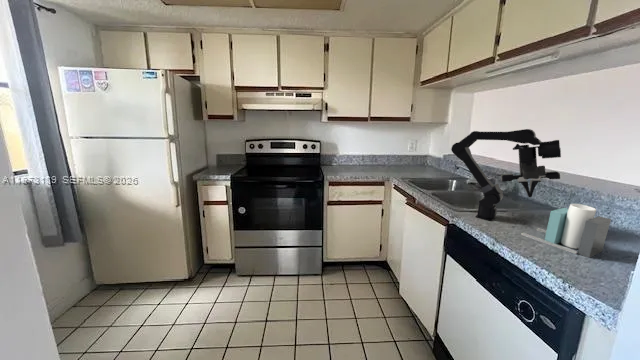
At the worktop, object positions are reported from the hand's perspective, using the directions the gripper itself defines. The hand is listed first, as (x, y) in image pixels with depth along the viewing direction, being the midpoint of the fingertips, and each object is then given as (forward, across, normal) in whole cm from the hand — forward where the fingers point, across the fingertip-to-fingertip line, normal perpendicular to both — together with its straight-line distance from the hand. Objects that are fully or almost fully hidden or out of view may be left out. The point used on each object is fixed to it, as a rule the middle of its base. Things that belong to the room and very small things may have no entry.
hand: (529, 197), depth 111 cm
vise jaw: (+15, +6, -10) cm, 19 cm away
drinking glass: (+16, +9, -12) cm, 22 cm away
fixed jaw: (+16, +7, -10) cm, 20 cm away
